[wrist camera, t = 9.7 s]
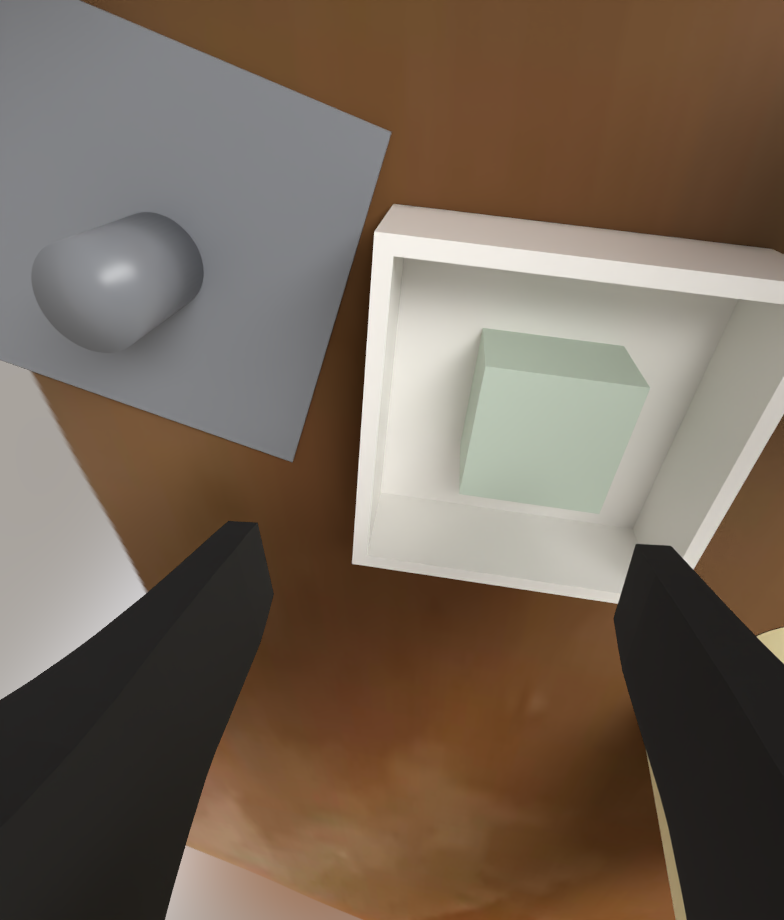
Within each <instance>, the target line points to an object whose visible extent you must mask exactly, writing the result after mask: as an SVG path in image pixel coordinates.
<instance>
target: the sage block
mask: <svg viewBox="0 0 784 920" xmlns="http://www.w3.org/2000/svg"><path fill="white" fill-rule="evenodd" d="M649 390H650V387H649V385H648V384H647V382H646V380H645V379H644V377H643V376H642V374H641V372H640V371H639V369H638V368H637V366H636V365H635V363H634V361H633V360H632V358H631V357H630V355H629V353H628V352H627V350H626V349H625V347H624V346H620V345H612V344H604V343H597V342H589V341H581V340H573V339H566V338H558V337H550V336H542V335H535V334H527V333H519V332H511V331H504V330H496V329H488V328H483V330H482V335H481V340H480V345H479V350H478V355H477V360H476V366H475V371H474V376H473V381H472V386H471V391H470V397H469V402H468V407H467V412H466V417H465V422H464V427H463V433H462V438H461V443H460V477H459V494H462V495H469V496H476V497H483V498H490V499H497V500H504V501H511V502H518V503H525V504H532V505H539V506H546V507H553V508H560V509H567V510H574V511H581V512H588V513H595V514H599V513H600V511H601V508H602V506H603V504H604V501H605V499H606V496H607V494H608V491H609V489H610V486H611V484H612V481H613V479H614V476H615V474H616V471H617V469H618V467H619V464H620V462H621V459H622V457H623V454H624V452H625V449H626V447H627V444H628V442H629V439H630V437H631V435H632V432H633V430H634V427H635V425H636V422H637V420H638V417H639V415H640V412H641V410H642V407H643V405H644V402H645V400H646V398H647V395H648V393H649Z"/></svg>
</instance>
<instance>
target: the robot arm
mask: <svg viewBox="0 0 784 920" xmlns="http://www.w3.org/2000/svg"><path fill="white" fill-rule="evenodd" d="M273 595H274V593H273V589H272V584H271V580H270V576H269V571H268V567H267V562H266V558H265V554H264V549H263V545H262V540H261V536H260V532H259V527H258V523H253V522H235V521H228V522H227V523H226V524H224V525H223V526H222V527H221V528H220V529H219V530H218V531H216V532H215V533H214V534H213V535H212V536H211V537H210V538H209V539H207V540H206V541H205V542H204V543H203V544H202V545H201V546H200V547H199V548H197V549H196V550H195V551H194V552H193V553H192V554H191V555H190V556H189V557H187V558H186V559H185V560H184V561H183V562H182V563H181V564H180V565H179V566H177V567H176V568H175V569H174V570H173V571H172V572H171V573H169V574H168V575H167V576H166V577H165V578H164V579H163V580H161V581H160V582H159V583H158V584H157V585H156V586H155V587H153V588H152V589H151V590H150V591H149V592H148V593H146V594H145V595H144V596H143V597H142V598H140V599H139V600H138V601H137V602H136V603H134V604H133V605H132V606H131V607H129V608H128V609H127V610H126V611H124V612H123V613H122V614H121V615H119V616H118V617H117V618H116V619H114V620H113V621H112V622H111V623H109V624H108V625H107V626H106V627H104V628H103V629H102V630H101V631H99V632H98V633H97V634H96V635H95V636H93V637H92V638H90V639H89V640H88V641H87V642H85V643H84V644H82V645H81V646H80V647H78V648H77V649H76V650H74V651H73V652H71V653H70V654H69V655H67V656H66V657H65V658H63V659H62V660H60V661H59V662H57V663H56V664H54V665H53V666H51V667H50V668H49V669H47V670H46V671H44V672H43V673H41V674H40V675H38V676H37V677H36V678H34V679H33V680H31V681H30V682H28V683H27V684H25V685H23V686H22V687H21V688H19V689H17V690H16V691H14V692H12V693H11V694H9V695H7V696H6V697H4V698H3V699H1V700H0V920H165V917H166V913H167V909H168V905H169V902H170V898H171V894H172V890H173V887H174V883H175V880H176V876H177V873H178V870H179V866H180V862H181V859H182V855H183V852H184V849H185V845H186V842H187V838H188V835H189V831H190V828H191V825H192V822H193V818H194V815H195V812H196V809H197V805H198V802H199V799H200V796H201V793H202V789H203V786H204V783H205V780H206V776H207V773H208V771H209V768H210V765H211V763H212V760H213V757H214V755H215V752H216V749H217V747H218V744H219V742H220V739H221V737H222V735H223V732H224V730H225V727H226V725H227V723H228V720H229V718H230V715H231V713H232V711H233V708H234V706H235V703H236V701H237V699H238V696H239V694H240V691H241V689H242V686H243V684H244V682H245V679H246V677H247V674H248V672H249V669H250V667H251V664H252V662H253V660H254V657H255V655H256V652H257V650H258V647H259V645H260V642H261V639H262V635H263V632H264V628H265V625H266V621H267V618H268V614H269V610H270V606H271V602H272V599H273ZM614 624H615V630H616V637H617V643H618V649H619V654H620V660H621V665H622V671H623V674H624V678H625V681H626V685H627V688H628V692H629V695H630V698H631V702H632V705H633V709H634V712H635V715H636V719H637V722H638V725H639V728H640V732H641V735H642V738H643V742H644V745H645V748H646V752H647V755H648V758H649V761H650V765H651V768H652V771H653V775H654V778H655V781H656V785H657V788H658V791H659V794H660V798H661V802H662V805H663V809H664V813H665V817H666V821H667V825H668V829H669V834H670V838H671V843H672V848H673V853H674V858H675V863H676V868H677V873H678V877H679V882H680V887H681V892H682V897H683V903H684V908H685V913H686V919H687V920H784V664H783V663H782V662H781V661H780V660H779V659H778V658H777V657H776V656H775V655H774V654H773V653H772V652H771V651H770V650H769V649H768V648H767V647H766V646H765V645H764V644H763V643H762V642H761V641H760V640H759V639H758V638H757V637H756V636H755V635H754V634H753V633H752V632H751V631H750V630H749V629H748V628H747V627H746V626H745V624H744V623H743V622H742V621H741V620H740V619H739V618H738V617H737V616H736V615H735V614H734V613H733V612H732V611H731V610H730V609H729V608H728V607H727V606H726V605H725V603H724V602H723V601H722V600H721V599H720V598H719V597H718V596H717V595H716V594H715V593H714V592H713V591H712V590H711V588H710V587H709V586H708V585H707V584H706V583H705V582H704V581H703V580H702V579H701V578H700V576H699V575H698V574H697V573H696V572H695V571H694V570H693V569H692V568H691V567H690V566H689V564H688V563H687V562H686V561H685V560H684V559H683V558H682V557H681V556H680V555H679V554H678V553H677V552H676V550H675V549H674V548H673V547H672V546H668V545H650V544H636V545H635V548H634V551H633V555H632V558H631V562H630V565H629V568H628V572H627V575H626V578H625V582H624V585H623V588H622V592H621V595H620V599H619V602H618V605H617V609H616V612H615V615H614Z"/></svg>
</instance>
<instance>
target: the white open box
mask: <svg viewBox="0 0 784 920" xmlns="http://www.w3.org/2000/svg"><path fill="white" fill-rule="evenodd" d="M483 328H488V329H496V330H504V331H511V332H519V333H527V334H535V335H542V336H550V337H558V338H566V339H573V340H581V341H589V342H597V343H604V344H612V345H620V346H624V347H625V349H626V350H627V352H628V353H629V355H630V357H631V358H632V360H633V361H634V363H635V365H636V366H637V368H638V369H639V371H640V372H641V374H642V376H643V377H644V379H645V380H646V382H647V384H648V385H649V387H650V390H649V393H648V395H647V398H646V400H645V402H644V405H643V407H642V410H641V412H640V415H639V417H638V420H637V422H636V425H635V427H634V430H633V432H632V435H631V437H630V439H629V442H628V444H627V447H626V449H625V452H624V454H623V457H622V459H621V462H620V464H619V467H618V469H617V471H616V474H615V476H614V479H613V481H612V484H611V486H610V489H609V491H608V494H607V496H606V499H605V501H604V504H603V506H602V508H601V511H600V513H599V514H595V513H588V512H581V511H574V510H567V509H560V508H553V507H546V506H539V505H532V504H525V503H518V502H511V501H504V500H497V499H490V498H483V497H476V496H469V495H462V494H459V477H460V443H461V438H462V433H463V427H464V422H465V417H466V412H467V407H468V402H469V397H470V391H471V386H472V381H473V376H474V371H475V366H476V360H477V355H478V350H479V345H480V340H481V335H482V330H483ZM783 414H784V255H783V254H781V253H779V252H777V251H775V250H773V249H768V248H759V247H751V246H743V245H734V244H726V243H717V242H709V241H701V240H692V239H684V238H676V237H667V236H659V235H650V234H642V233H634V232H625V231H617V230H609V229H600V228H592V227H584V226H575V225H567V224H558V223H550V222H542V221H533V220H525V219H517V218H508V217H500V216H491V215H483V214H475V213H466V212H458V211H450V210H441V209H433V208H425V207H416V206H408V205H399V204H393V205H392V207H391V208H390V210H389V211H388V213H387V214H386V215H385V217H384V218H383V220H382V221H381V223H380V224H379V226H378V227H377V228H376V230H375V231H374V244H373V259H372V273H371V288H370V303H369V318H368V333H367V348H366V363H365V378H364V392H363V407H362V422H361V437H360V452H359V467H358V482H357V497H356V512H355V526H354V541H353V556H352V564H357V565H364V566H370V567H377V568H384V569H390V570H397V571H404V572H410V573H417V574H424V575H430V576H437V577H444V578H450V579H457V580H464V581H470V582H477V583H484V584H490V585H497V586H503V587H510V588H517V589H523V590H530V591H537V592H543V593H550V594H557V595H563V596H570V597H577V598H583V599H590V600H597V601H603V602H610V603H616V604H618V602H619V599H620V595H621V592H622V588H623V585H624V582H625V578H626V575H627V572H628V568H629V565H630V562H631V558H632V555H633V551H634V548H635V545H636V544H650V545H668V546H672V547H673V548H674V549H675V550H676V552H677V553H678V554H679V555H680V556H681V557H682V558H683V559H684V560H685V561H686V562H687V563H688V564H689V566H690V567H691V568H692V569H694V568H695V566H696V564H697V562H698V561H699V559H700V557H701V556H702V554H703V552H704V550H705V549H706V547H707V545H708V543H709V542H710V540H711V538H712V537H713V535H714V533H715V531H716V530H717V528H718V526H719V525H720V523H721V521H722V519H723V518H724V516H725V514H726V512H727V511H728V509H729V507H730V506H731V504H732V502H733V500H734V499H735V497H736V495H737V494H738V492H739V490H740V488H741V487H742V485H743V483H744V482H745V480H746V478H747V476H748V475H749V473H750V471H751V469H752V468H753V466H754V464H755V463H756V461H757V459H758V457H759V456H760V454H761V452H762V451H763V449H764V447H765V445H766V444H767V442H768V440H769V438H770V437H771V435H772V433H773V432H774V430H775V428H776V426H777V425H778V423H779V421H780V420H781V418H782V416H783Z"/></svg>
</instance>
